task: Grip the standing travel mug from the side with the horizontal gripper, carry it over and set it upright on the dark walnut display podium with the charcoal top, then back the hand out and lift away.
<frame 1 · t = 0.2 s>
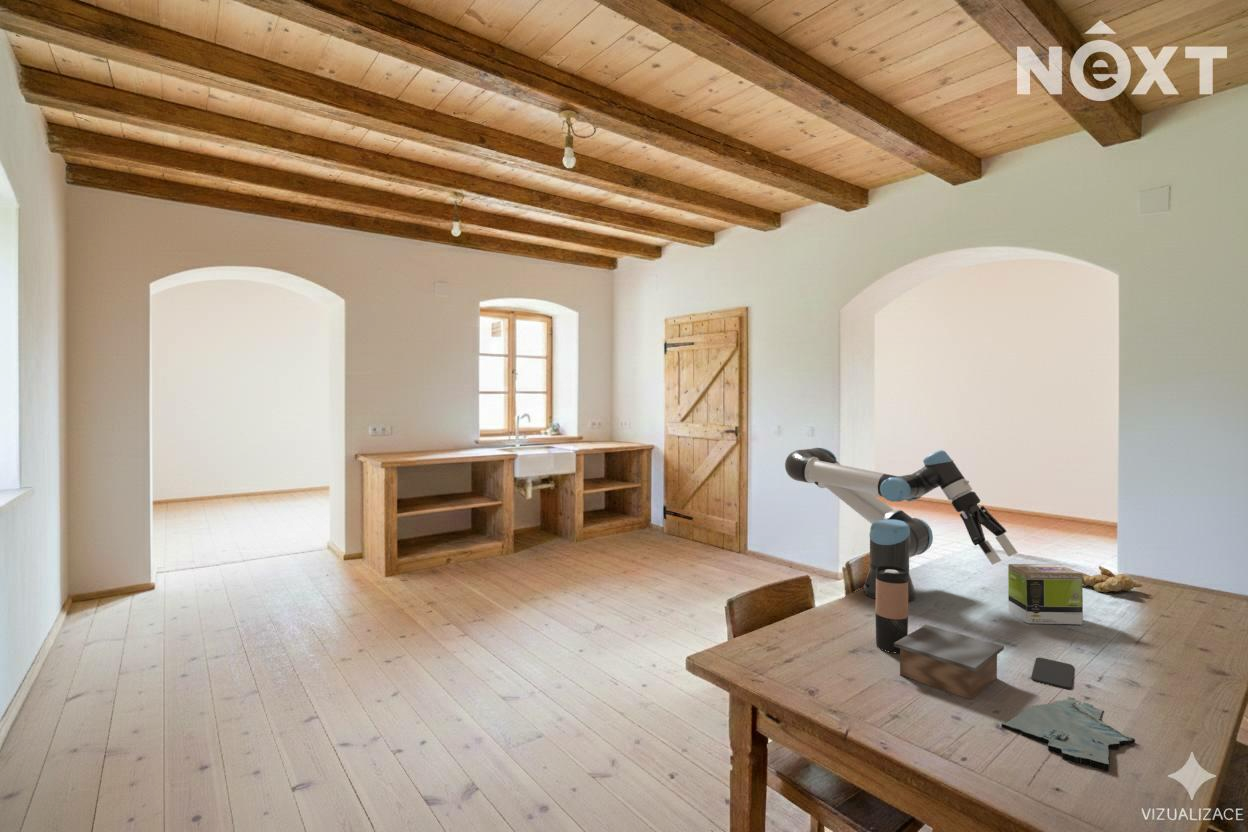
hand: (1005, 558, 181), 15 cm above the table, tool tilted 35°, fingers open, 13 cm apart
podium: (948, 676, 137), on the table
tea box: (1043, 619, 173), on the table
phone: (1052, 675, 139), on the table
ginger root: (1108, 591, 198), on the table
travel mug: (891, 648, 153), on the table
decorative slab: (1067, 733, 115), on the table
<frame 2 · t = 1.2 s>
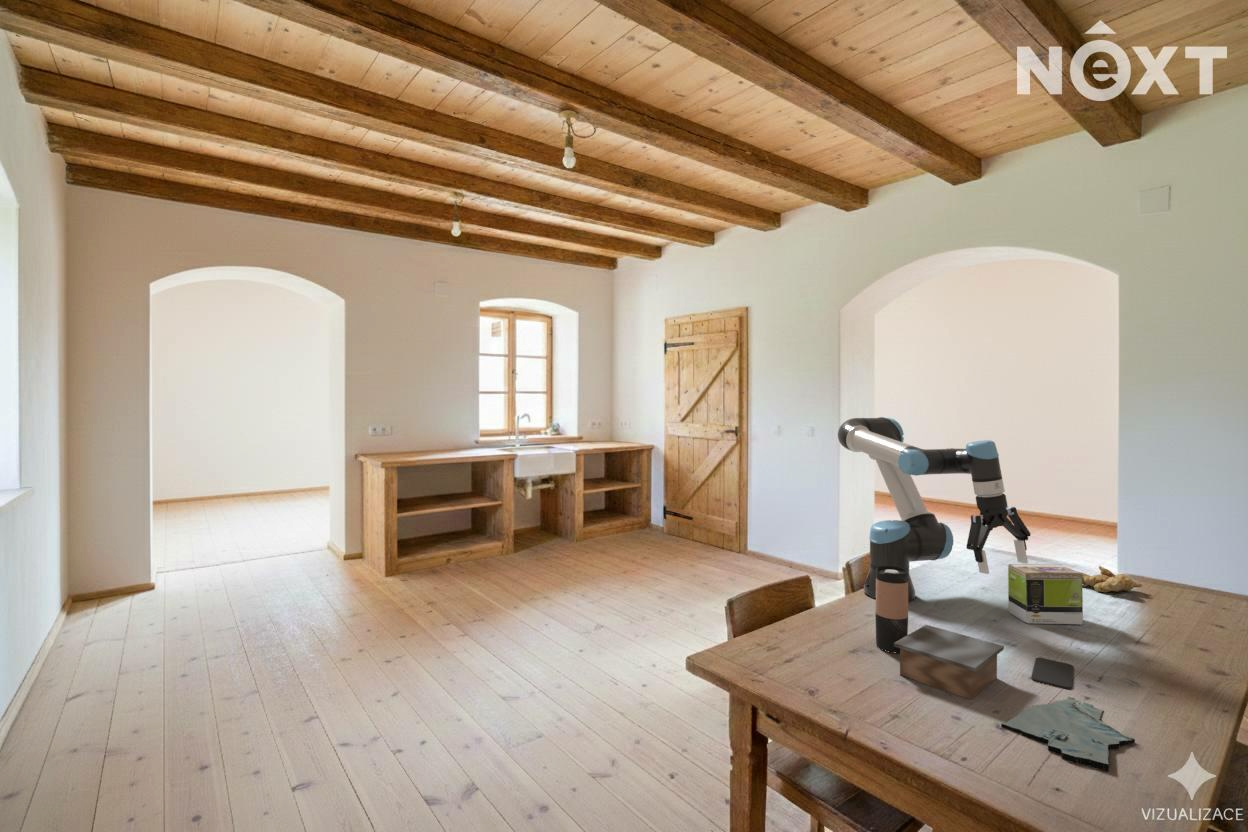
hand: (1003, 567, 173), 15 cm above the table, tool pointing down, fingers open, 13 cm apart
nothing on the table moved.
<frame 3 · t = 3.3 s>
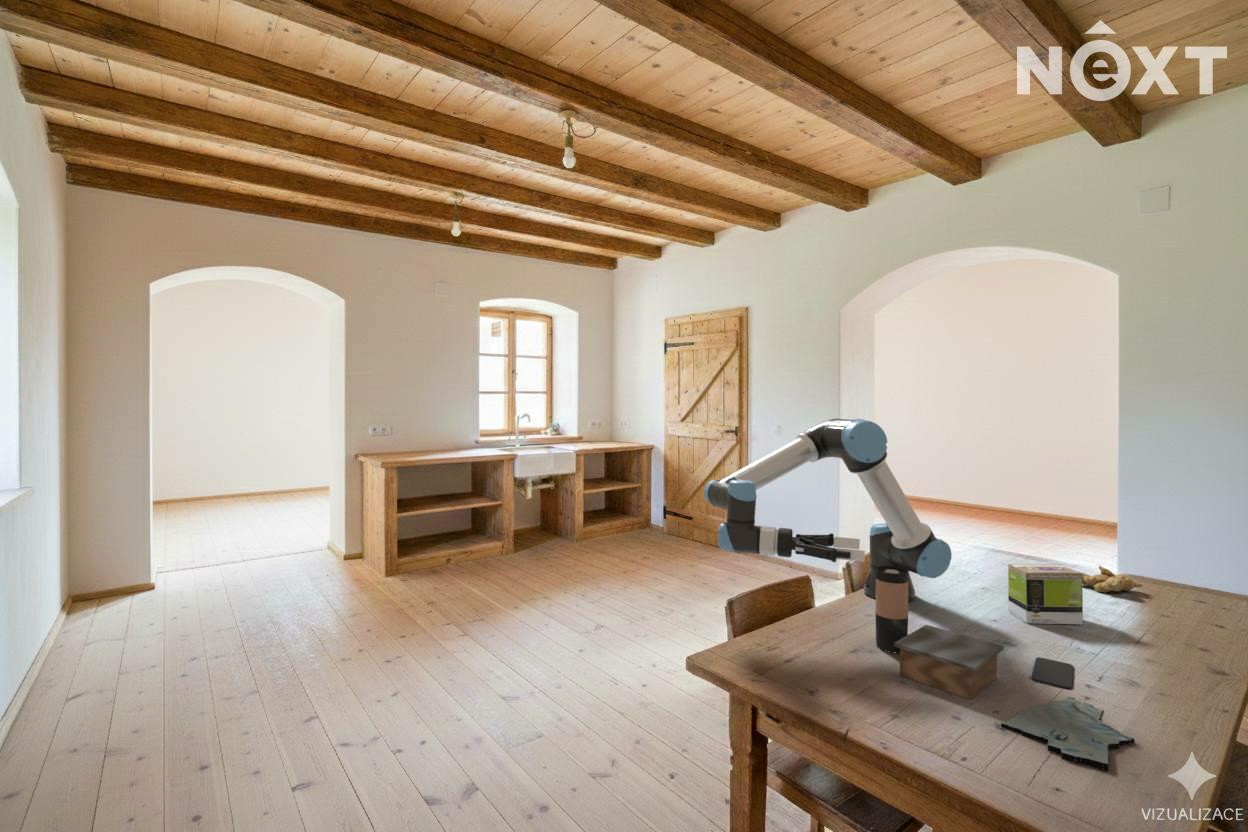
hand: (862, 549, 155), 24 cm above the table, tool horizontal, fingers open, 13 cm apart
nothing on the table moved.
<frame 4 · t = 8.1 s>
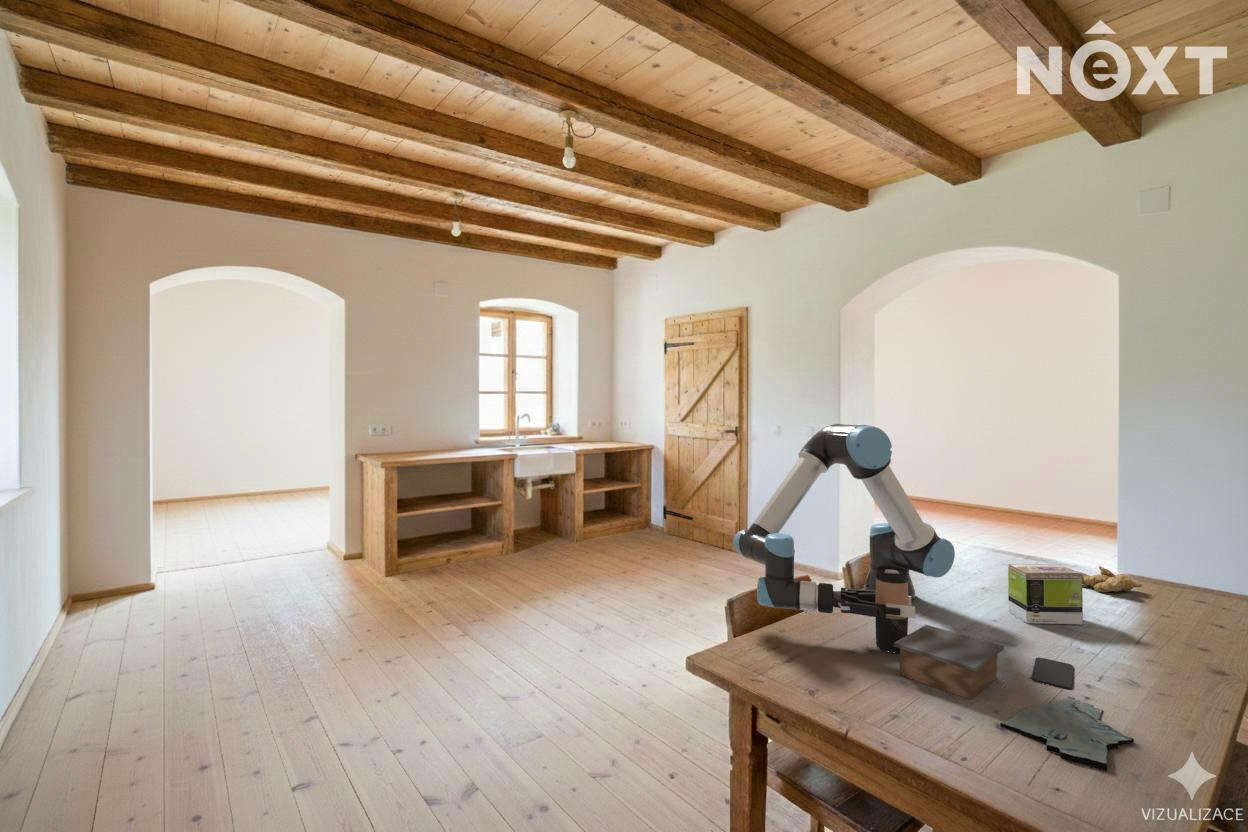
hand: (912, 606, 151), 11 cm above the table, tool horizontal, fingers closed on travel mug, 7 cm apart
travel mug: (891, 648, 153), on the table, touching gripper
everything else where it was.
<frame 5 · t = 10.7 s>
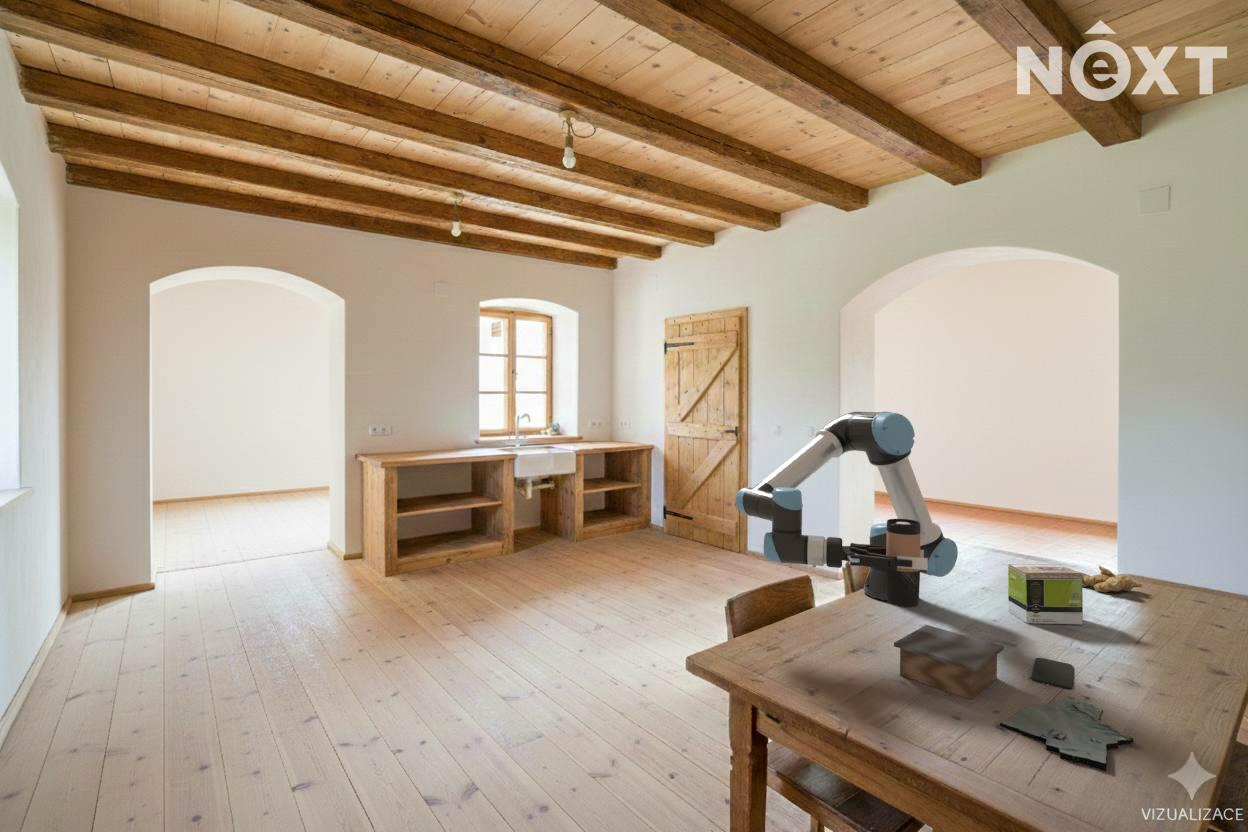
hand: (925, 559, 146), 24 cm above the table, tool horizontal, fingers closed on travel mug, 7 cm apart
travel mug: (902, 603, 148), point 13 cm above the table, touching gripper
everything else where it was.
when the fingers open (20 cm above the table, at t = 13.3 s): travel mug drops 2 cm, resting on podium.
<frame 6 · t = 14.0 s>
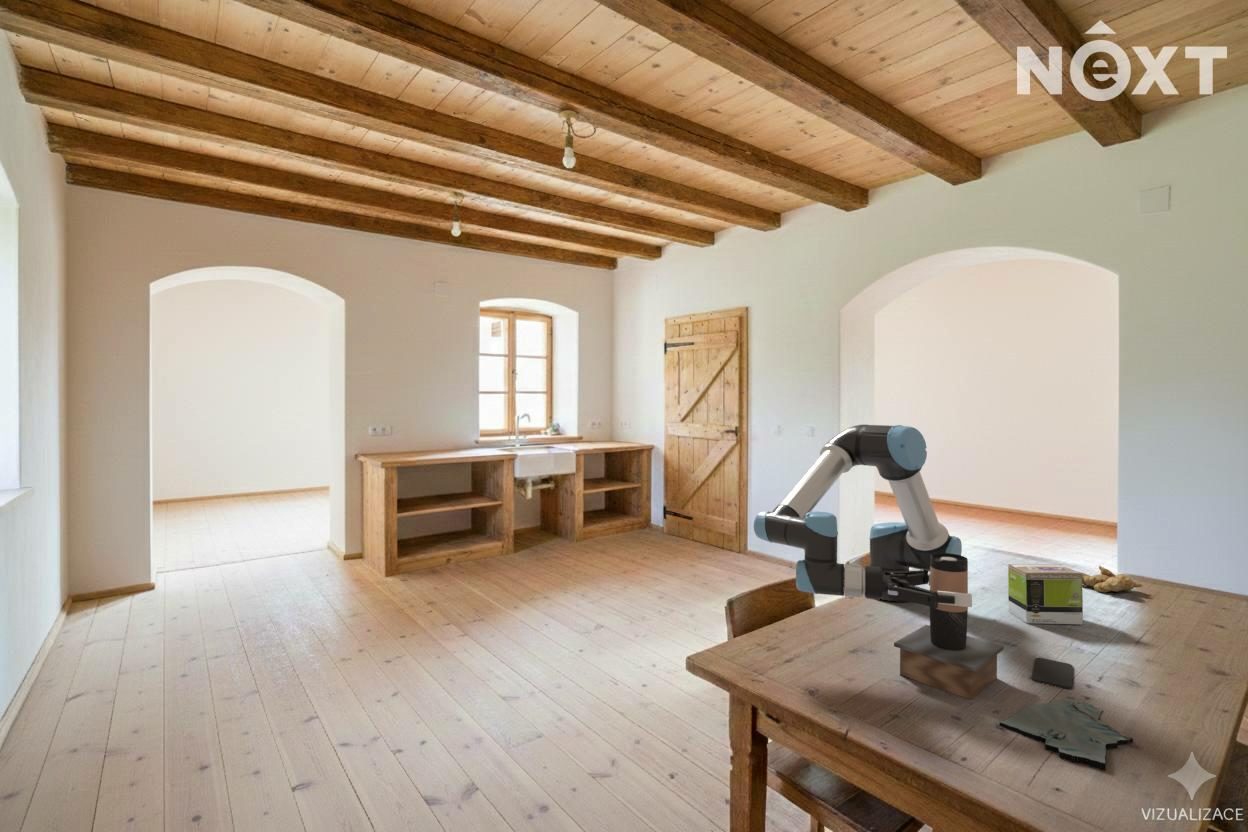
hand: (965, 591, 136), 20 cm above the table, tool horizontal, fingers open, 13 cm apart
travel mug: (948, 645, 137), point 7 cm above the table, touching podium
everything else where it was.
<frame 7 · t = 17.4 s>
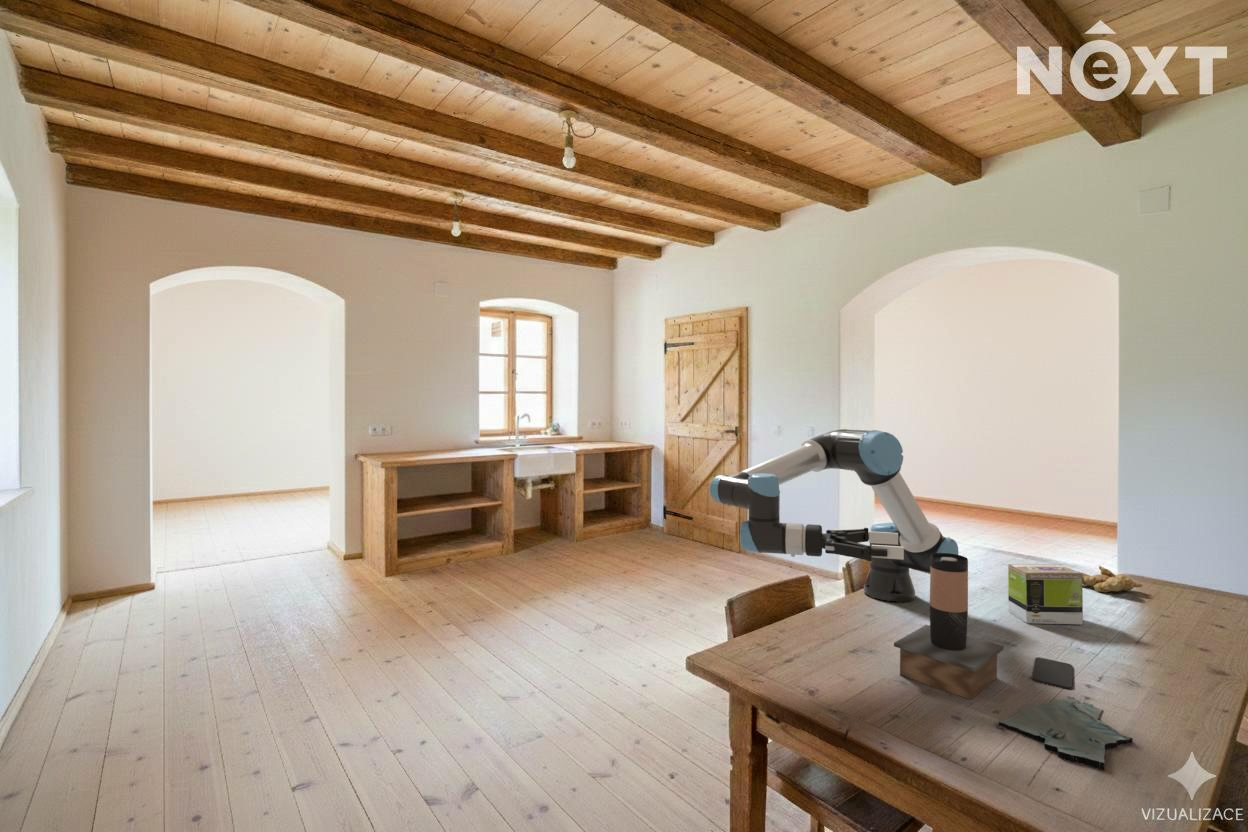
hand: (900, 545, 139), 29 cm above the table, tool horizontal, fingers open, 13 cm apart
nothing on the table moved.
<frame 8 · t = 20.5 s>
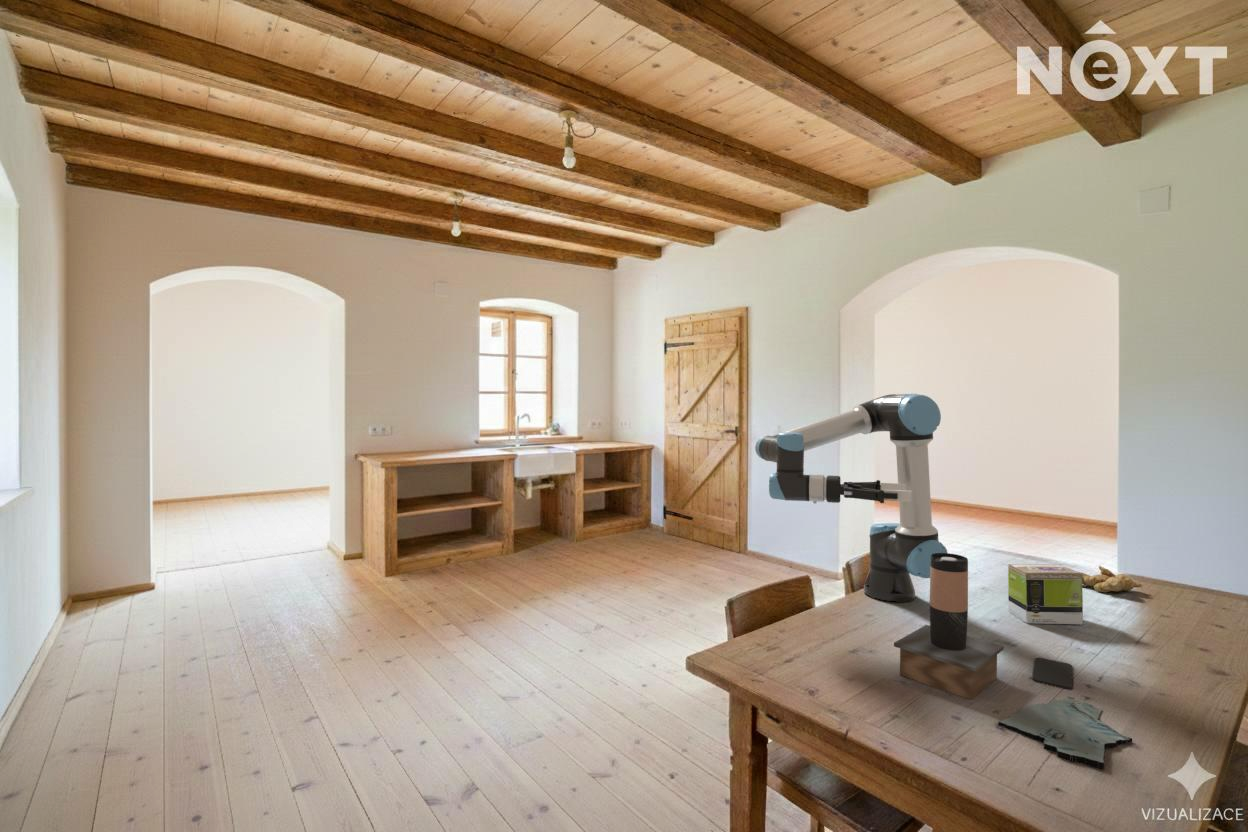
hand: (908, 492, 163), 38 cm above the table, tool horizontal, fingers open, 13 cm apart
nothing on the table moved.
at the end: travel mug inside the target area on the podium (0.1 cm from its centre), point 7.2 cm above the podium's base; travel mug tilted 0°; the gripper is holding nothing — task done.
